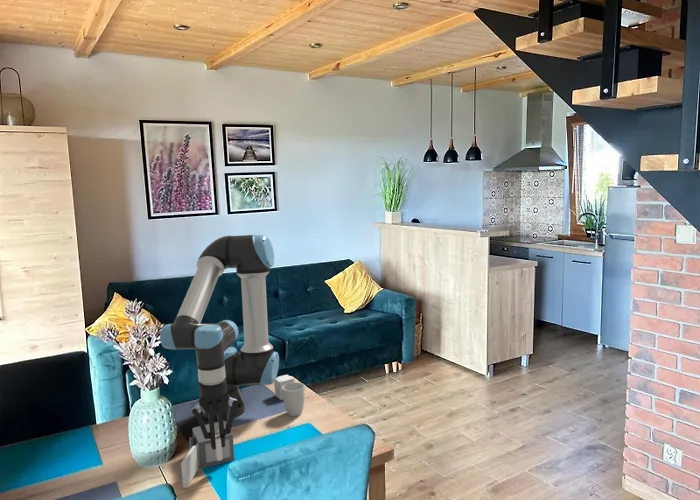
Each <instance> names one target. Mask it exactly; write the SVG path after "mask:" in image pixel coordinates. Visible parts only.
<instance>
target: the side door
mask: <svg viewBox="0 0 700 500" xmlns="http://www.w3.org/2000/svg"><path fill="white" fill-rule="evenodd" d="M180 467H181V468H180V470H179V472H178V475H179V478H181V477H182V480H181V481H182V488H188V487H189V484H191V481H192V480H193V478H194V477H195V475H196V473H197V472H198V470H199V469H201V468H200V459H199V447H198V444H196V446H193V447H192V448H191V449H190V448H189V451H188V452H187V454H186V455H185V457H184V458H183V459H182V461H181V463H180Z"/></svg>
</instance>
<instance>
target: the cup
mask: <svg viewBox="0 0 700 500" xmlns="http://www.w3.org/2000/svg"><path fill="white" fill-rule="evenodd" d="M305 389H306V388H305V384H304V383H303V382H302V383H301V382H299V381H298V382H297V381H295V382H293V383H288V384H285V385H283V386H282V393H283V400H282V401H283V404H284V407H285V411H286V413H287V415H288V416H289V417H290V416H291V417H297V416H300V415H302V414H303V410H304V406H305V392H306V391H305Z"/></svg>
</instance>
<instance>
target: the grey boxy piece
mask: <svg viewBox="0 0 700 500" xmlns="http://www.w3.org/2000/svg"><path fill="white" fill-rule="evenodd" d="M223 422H224V429H225V427H226V421H225V420H223ZM205 427H206V429H207V432H210V429H209V423H208V424H205ZM214 427H215V435H219V425H218V421H217V422H216V421H215V422H214ZM191 429H192V437H189V438H188V439H189V441H188V442H189V450H190V449H191V448H192V447H193V446H196V444H198V447H199V459H200V468H199V469H201V470H202V469H204V468H208V467H213V466H215V465H221V464H225V463H228V462H231V461H235V448H234V436H233V433H232V432H231V433H230V434H227V435H225V447H222V458H223V460H220V461H217V458H216V449H214V450H213V449H212V447H211V439H205V438H204V435H203V433H202V430H201V428H200V425H198V426H195V427H192V428H191Z"/></svg>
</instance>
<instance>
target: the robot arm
mask: <svg viewBox="0 0 700 500" xmlns="http://www.w3.org/2000/svg"><path fill="white" fill-rule="evenodd" d="M274 253H275V252H274V248H273V244H272V242H271V240H270V238H269V237H268V236H267V235H264V234H247V235H246V234H244V235H243V234H242V235H225V236H221V237H219V238H217V239H215V240H214V241H212V242H210V243H209V245H207V246H206V248H205V249H204V250H203V251H202V252H201V254H200V255H199V257H198V260H197V261H196V268H197V269H196V272H195V274H194V276H193V278H192V280H191V282H190V286H189V288H188V290H187V292H186V293H185V294H186V295H185V297H184V299H183V301H182V302H181V303H182V304H181V306H180V308H179V311H178V313H177V315H176V317H175V319H174V321H173V323H168V324H165V325H164V326H162V327H161V330H160V334H159V341H160V344H161V346H162V348H163V349H166V350H176V351H178V350H195V355H196V364H197V365H196V366H197V378H198V382H199V383H198V388H199V399H198V402H197V404H196V405H193V406H191V413H192V415H194V416H195V417H196V420H197V422H198V424H199V425H198V426H200V428H201V430H202V433H203V435H204V438H205V439H211V447H212V449H213V450H214V449H216V458H217V461H220V460H223V458H222V447H225V435H227V434H230V433H232V427H233V422H234V418H236V417H238V416H239V417H240V415H242V414H243V413H244V412H245V411H246V402H245V399H244V397H243V395H242V393H241V391H240V386H260V387H261V386H271V385H272V384H273V383H274V381H275V379H276V377H278V372H279V365H280V356H279V355H280V354H279V353H278V352H277V351H274V346H273V345H272V344H271V343H270V342H269V341H270V340H269V324H268V323H269V322H268V307H267V305H268V304H267V301H268V300H267V285H266V284H267V283H266V282H267V281H266V279H267V275H269V273H270V268H272V267H273V266H274V263H275V254H274ZM227 269H235V271H236V275H237V276H238V277H239V278H240V284H241V286H240V287H241V300H242V305H241V306H242V320H243V338H244V339H243V340H244V344H243V345H242V346H241V348H240V351H239V352H238V350H237V348H236V347H234V346H232V345H234V343H235V341H236V340H237V339H238V337H239V327H238V325H237V324H236V323H235V322H234V321H232V320H229V319H224V320H221V321H218V322H216V323H202V320H203V317H204V315H205V312H206V309H207V308H208V305H209V303H210V300H211V297H212V294H213V292H214V289H215V286H216V284H217V282H218V279H219V277H220V276H223V274H224V272H225V270H227ZM201 408H202V409H201ZM201 412H202V414H203V415H202V414H201ZM203 417H204V418H205V419H206V420H208V424H209V429H210V432H207V429H206V427H205V425H206V424H205V422H204V419H203ZM225 420H226V421H225ZM215 421H217V422H218V425H219V435H215V427H214V423H215ZM223 421H225V422H226V427H225V429H224V422H223Z"/></svg>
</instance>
